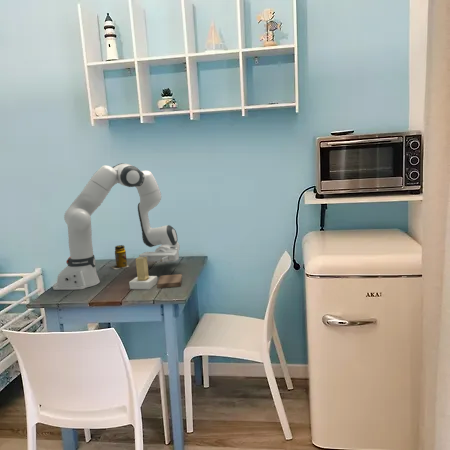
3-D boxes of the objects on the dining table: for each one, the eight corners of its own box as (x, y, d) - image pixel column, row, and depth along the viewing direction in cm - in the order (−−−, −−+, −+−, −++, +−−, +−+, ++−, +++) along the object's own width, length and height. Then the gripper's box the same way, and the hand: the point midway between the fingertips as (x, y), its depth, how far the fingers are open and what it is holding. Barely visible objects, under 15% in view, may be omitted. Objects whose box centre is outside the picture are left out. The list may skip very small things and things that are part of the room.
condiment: (129, 266, 266) (127, 245, 264) (115, 269, 261) (113, 248, 259) (124, 264, 272) (122, 244, 270) (110, 267, 267) (108, 246, 265)
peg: (138, 287, 225) (135, 258, 223) (141, 284, 229) (139, 256, 227) (146, 287, 224) (143, 258, 222) (149, 284, 228) (146, 256, 225)
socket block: (129, 289, 223) (129, 281, 223) (139, 282, 233) (138, 275, 232) (149, 289, 220) (148, 282, 220) (157, 282, 230) (157, 276, 229)
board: (157, 288, 222) (157, 284, 221) (160, 279, 236) (160, 275, 235) (180, 286, 222) (180, 282, 222) (182, 277, 236) (181, 274, 235)
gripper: (144, 248, 252) (133, 254, 239) (180, 247, 247) (170, 254, 233) (146, 259, 253) (134, 266, 240) (181, 259, 248) (172, 266, 235)
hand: (152, 260), depth 237 cm, fingers open, 8 cm apart
